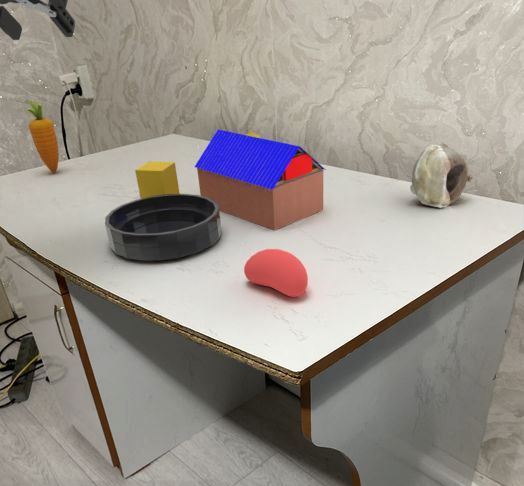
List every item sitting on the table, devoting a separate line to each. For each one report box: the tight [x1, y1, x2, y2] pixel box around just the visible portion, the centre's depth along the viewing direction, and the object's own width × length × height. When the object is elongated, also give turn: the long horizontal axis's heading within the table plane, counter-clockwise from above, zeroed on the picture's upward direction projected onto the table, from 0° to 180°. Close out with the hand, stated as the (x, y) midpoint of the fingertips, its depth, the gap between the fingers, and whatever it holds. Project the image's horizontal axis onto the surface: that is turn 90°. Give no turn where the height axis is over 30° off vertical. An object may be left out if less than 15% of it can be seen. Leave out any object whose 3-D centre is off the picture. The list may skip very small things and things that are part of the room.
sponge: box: [134, 161, 181, 199], centre depth 93 cm, size 5×5×8 cm
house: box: [194, 129, 327, 231], centre depth 91 cm, size 12×20×12 cm, turn 42°
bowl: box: [104, 193, 223, 262], centre depth 83 cm, size 17×17×4 cm
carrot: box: [26, 99, 60, 173], centre depth 116 cm, size 5×5×15 cm
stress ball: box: [243, 248, 309, 298], centre depth 68 cm, size 5×9×6 cm, turn 36°
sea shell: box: [409, 142, 474, 209], centre depth 88 cm, size 9×8×10 cm
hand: (44, 33), depth 72 cm, fingers open, 8 cm apart
